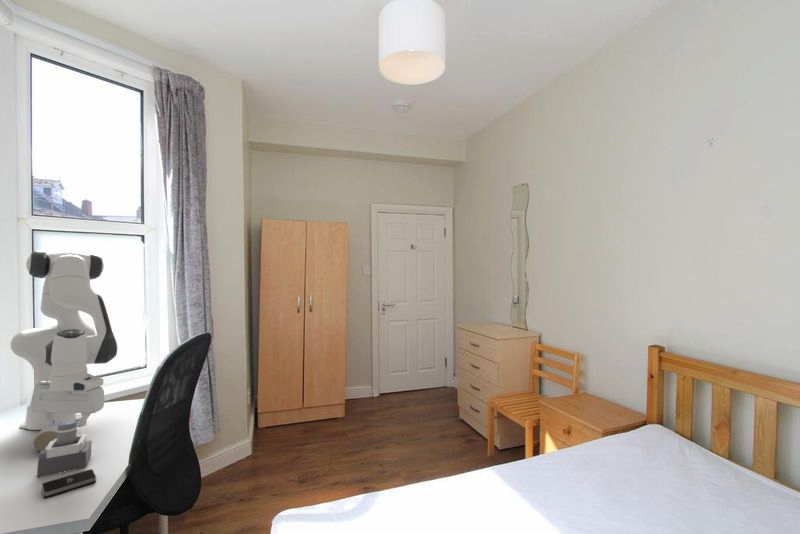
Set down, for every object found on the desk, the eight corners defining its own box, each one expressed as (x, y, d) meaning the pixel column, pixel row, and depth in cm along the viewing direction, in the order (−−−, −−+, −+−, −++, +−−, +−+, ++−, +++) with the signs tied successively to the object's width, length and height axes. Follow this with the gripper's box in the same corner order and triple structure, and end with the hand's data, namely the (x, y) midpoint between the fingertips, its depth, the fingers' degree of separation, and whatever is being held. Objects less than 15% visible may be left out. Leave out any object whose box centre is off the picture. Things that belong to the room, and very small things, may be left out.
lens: (51, 453, 113) (52, 426, 113) (65, 446, 118) (66, 420, 118) (67, 453, 113) (68, 426, 113) (80, 446, 118) (81, 420, 118)
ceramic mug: (31, 455, 121) (32, 431, 122) (40, 445, 128) (41, 423, 129) (72, 449, 127) (74, 426, 127) (79, 439, 134) (80, 418, 134)
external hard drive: (96, 484, 106) (96, 477, 106) (42, 501, 98) (43, 493, 98) (92, 475, 110) (92, 468, 111) (40, 490, 102) (41, 483, 102)
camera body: (46, 464, 116) (47, 440, 116) (90, 455, 122) (91, 432, 122) (37, 477, 108) (38, 451, 108) (85, 467, 114) (86, 443, 114)
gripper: (25, 384, 112) (22, 429, 112) (93, 385, 113) (90, 430, 113) (44, 378, 119) (42, 421, 118) (108, 379, 119) (106, 422, 119)
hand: (66, 425), depth 116 cm, fingers open, 8 cm apart
